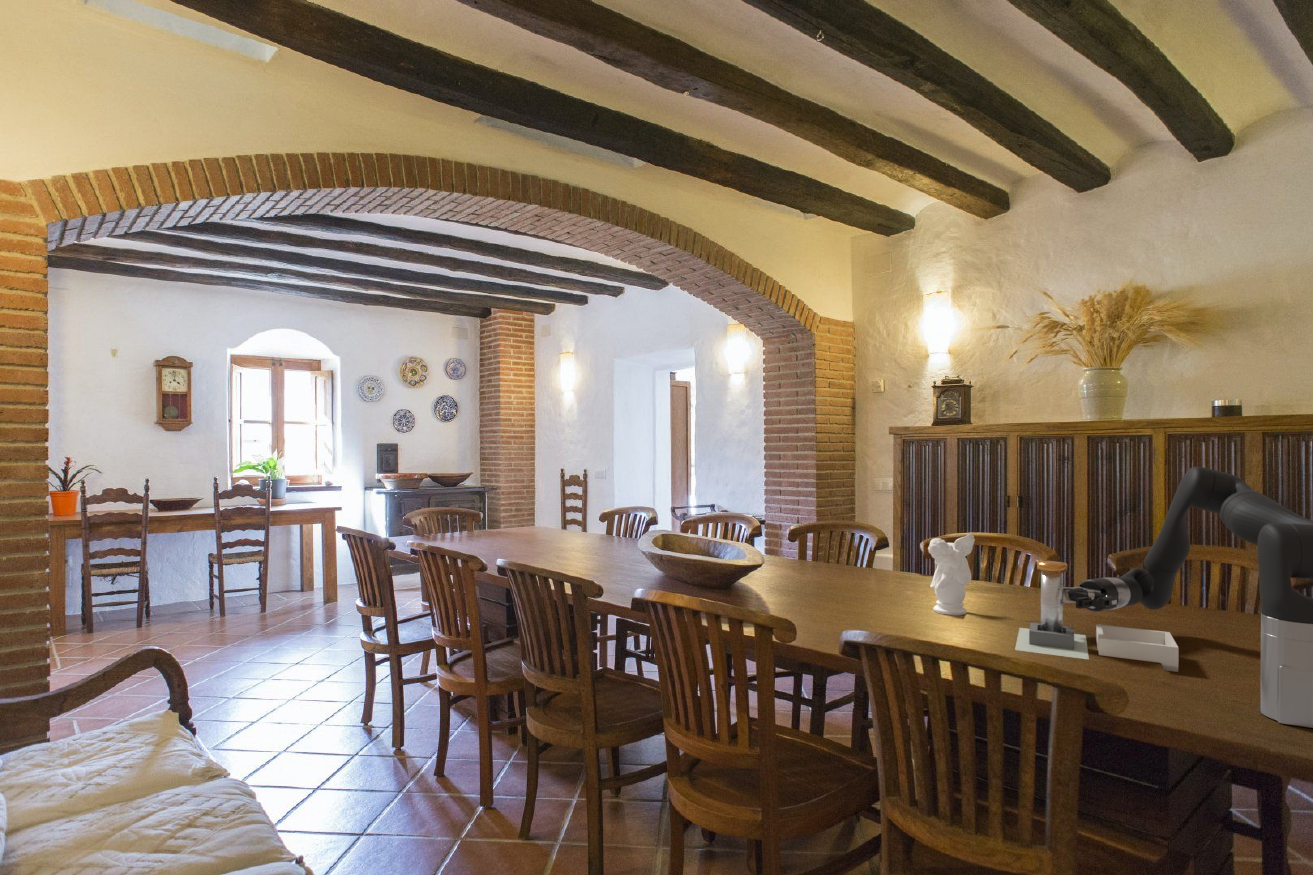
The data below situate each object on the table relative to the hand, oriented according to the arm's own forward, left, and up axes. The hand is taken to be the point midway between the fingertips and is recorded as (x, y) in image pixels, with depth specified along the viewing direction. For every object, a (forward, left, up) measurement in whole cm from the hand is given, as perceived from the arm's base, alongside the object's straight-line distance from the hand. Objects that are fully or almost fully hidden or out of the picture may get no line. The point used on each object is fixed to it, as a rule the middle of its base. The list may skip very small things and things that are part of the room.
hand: (1059, 599), depth 169 cm
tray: (-1, -14, -11) cm, 18 cm away
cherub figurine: (+27, +27, -11) cm, 39 cm away
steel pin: (-2, +2, -9) cm, 10 cm away
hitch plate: (-2, +2, -11) cm, 11 cm away
